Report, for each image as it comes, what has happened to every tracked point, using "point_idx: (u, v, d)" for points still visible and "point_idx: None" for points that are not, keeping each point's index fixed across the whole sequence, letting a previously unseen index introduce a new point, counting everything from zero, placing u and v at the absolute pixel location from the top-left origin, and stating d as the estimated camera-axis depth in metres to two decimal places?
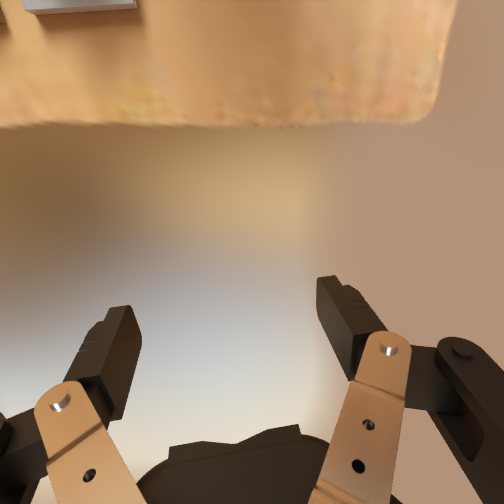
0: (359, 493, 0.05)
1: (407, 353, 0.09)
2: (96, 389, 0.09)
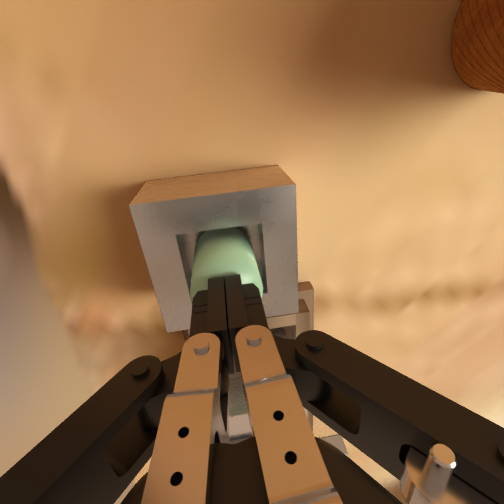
0: (303, 480, 0.06)
1: (269, 336, 0.10)
2: (223, 342, 0.10)
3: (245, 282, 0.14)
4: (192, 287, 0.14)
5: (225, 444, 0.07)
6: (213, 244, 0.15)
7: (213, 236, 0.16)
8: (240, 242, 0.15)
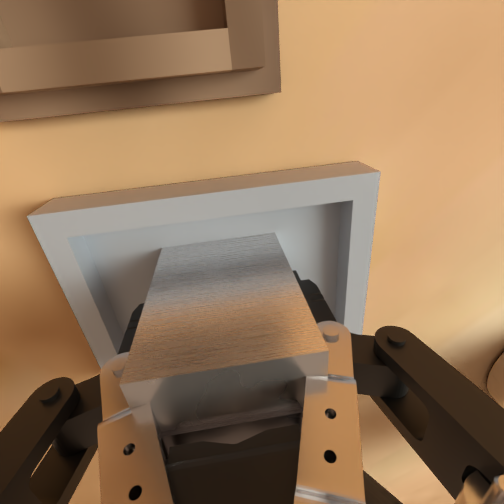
0: (336, 482, 0.06)
1: (347, 337, 0.09)
2: None
3: None
4: None
5: (225, 444, 0.07)
6: None
7: None
8: None
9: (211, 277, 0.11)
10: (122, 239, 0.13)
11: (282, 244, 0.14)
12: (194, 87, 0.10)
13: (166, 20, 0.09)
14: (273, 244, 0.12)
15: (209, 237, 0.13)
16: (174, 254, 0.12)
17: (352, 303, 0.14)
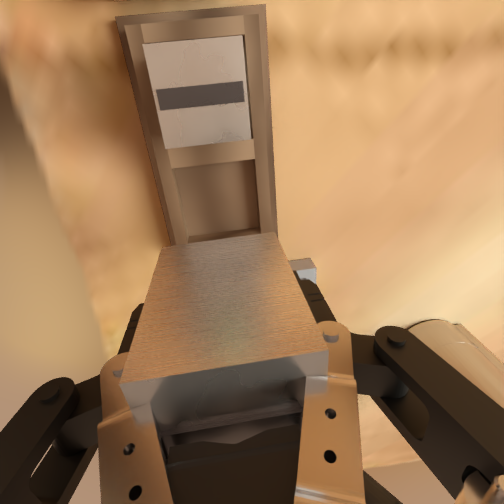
0: (336, 483, 0.06)
1: (347, 337, 0.09)
2: None
3: None
4: None
5: (225, 444, 0.07)
6: None
7: None
8: None
9: (210, 276, 0.11)
10: None
11: None
12: None
13: (239, 224, 0.28)
14: (273, 243, 0.12)
15: None
16: (174, 253, 0.12)
17: None
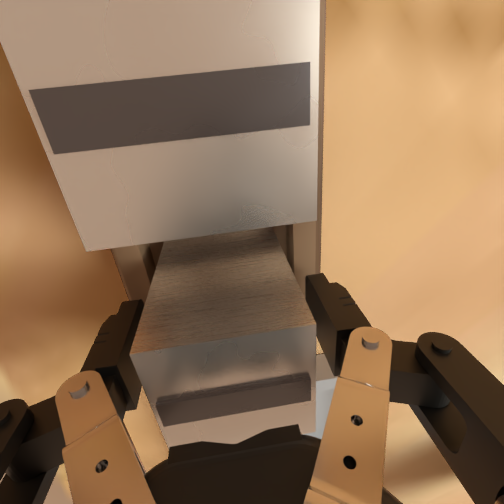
0: (352, 489, 0.05)
1: (388, 347, 0.09)
2: (113, 379, 0.09)
3: None
4: None
5: (225, 444, 0.07)
6: None
7: None
8: None
9: (210, 264, 0.11)
10: None
11: None
12: None
13: None
14: (269, 234, 0.13)
15: None
16: (176, 244, 0.13)
17: None
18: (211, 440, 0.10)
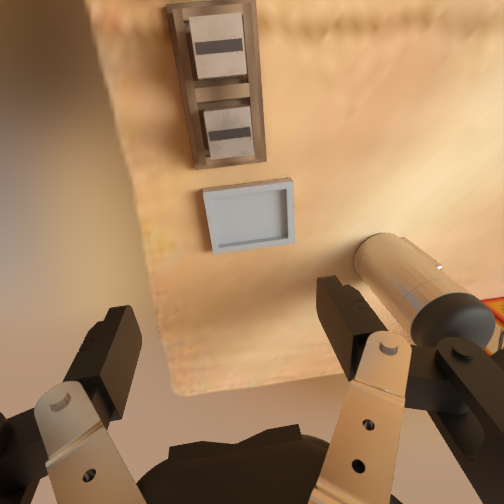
0: (358, 493, 0.05)
1: (407, 353, 0.09)
2: (96, 389, 0.09)
3: None
4: None
5: (225, 444, 0.07)
6: None
7: None
8: None
9: (222, 107, 0.35)
10: (221, 200, 0.44)
11: (268, 202, 0.45)
12: (245, 160, 0.42)
13: None
14: (242, 104, 0.37)
15: (246, 200, 0.45)
16: (209, 108, 0.37)
17: (290, 221, 0.46)
18: (222, 152, 0.34)
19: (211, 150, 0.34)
